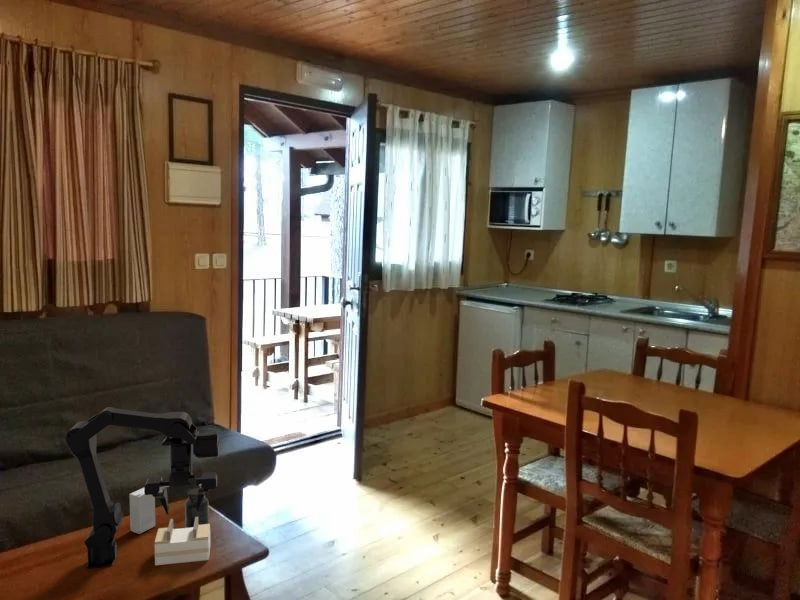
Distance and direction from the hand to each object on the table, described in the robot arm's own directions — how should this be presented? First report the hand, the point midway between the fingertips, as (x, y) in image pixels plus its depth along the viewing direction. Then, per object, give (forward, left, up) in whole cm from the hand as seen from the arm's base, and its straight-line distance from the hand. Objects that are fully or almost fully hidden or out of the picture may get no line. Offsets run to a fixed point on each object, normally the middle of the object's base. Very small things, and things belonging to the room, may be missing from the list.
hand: (182, 512), depth 172 cm
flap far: (+5, 0, -6) cm, 8 cm away
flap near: (-5, 0, -6) cm, 8 cm away
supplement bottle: (+2, +15, -13) cm, 20 cm away
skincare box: (-14, +18, -13) cm, 26 cm away
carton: (0, 0, -13) cm, 13 cm away
